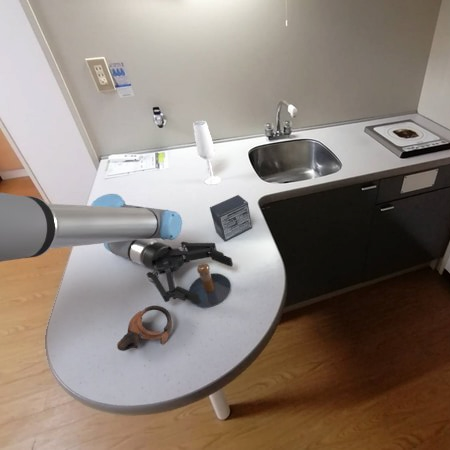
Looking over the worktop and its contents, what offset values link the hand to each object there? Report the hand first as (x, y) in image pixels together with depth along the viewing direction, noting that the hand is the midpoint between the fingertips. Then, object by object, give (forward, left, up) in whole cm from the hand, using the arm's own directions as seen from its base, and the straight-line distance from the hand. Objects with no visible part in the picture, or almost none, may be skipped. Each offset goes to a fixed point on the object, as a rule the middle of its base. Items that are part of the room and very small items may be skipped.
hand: (216, 280), depth 77 cm
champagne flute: (+23, +54, -6) cm, 59 cm away
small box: (+15, +21, -6) cm, 27 cm away
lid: (-2, +3, -6) cm, 7 cm away
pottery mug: (-19, -1, -6) cm, 20 cm away
